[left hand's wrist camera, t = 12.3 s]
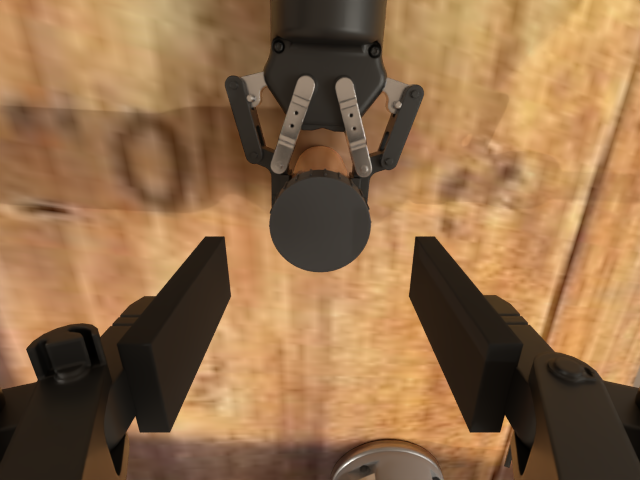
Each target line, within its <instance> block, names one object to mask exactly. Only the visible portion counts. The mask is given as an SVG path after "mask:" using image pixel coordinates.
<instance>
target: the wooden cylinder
mask: <svg viewBox="0 0 640 480" xmlns="http://www.w3.org/2000/svg"><path fill="white" fill-rule="evenodd" d="M324 168H325V169H326V170H329V171H333V172H337V173H338V172H340V174H341V175H343V176H345V177H347V178H348V179H349V176H348V173H347V171H346V168H345V165H344V162H343V160H342V158H341V156H340V155H339V154H338V153H337V152H336V151H335V150H333V149H331V148H329V147H326V146H314V147H311V148H309V149H307V150H306V151H304V152H303V153H302V154H301V155H300V157H299V158H298V160H297V163H296V166H295V168H294V171H293V174H292V177H291V179H292V178H294V177H295V176H296V175H297V174H301V173H304V172H307V171H310V169H312V170H324ZM291 179H290V180H291ZM349 180H350V179H349Z"/></svg>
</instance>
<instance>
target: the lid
mask: <svg viewBox="0 0 640 480" xmlns="http://www.w3.org/2000/svg"><path fill="white" fill-rule="evenodd" d="M363 197H364V196H363V194H362V191H361V189H358V188H357V186H356V185H355V184H354V183H353V182H352V179H350V180H349V179H348V178H347V177H345V176H343V175H341V174H340V172H338V173H337V172H333V171H329V170H326V169H325V168H324V170H312V169H310V171H307V172H304V173H301V174H297V175H296V176H295V177H294V178H292V179H291V180H290V181H289V182H287V181H286V183H285V185H284V187H283V188H282V189H281V191H280V192H278V193H277V195H276V198H275V204H273V206H272V209H271V211H270V214H271V215H270V225H269V227H270V234H271V237H272V241H273V243H274V245H275V247H276V249H277V250H278V252H279V253H280V254H281V255H282V256H283V257H284V258H285V259H286V260H287V261H288V262H290V263H291V264H293V265H294V266H296V267H298V268H301V269H303V270H307V271H312V272H329V271H334V270H337V269H340V268H342V267H344V266H346V265H348V264H349V263H351V262H352V261H353V260H354V259H356V258H357V257H358V256H359V254H360V253H361V252H362V251H363V249H364V247H365V246H366V244H367V241H368V239H369V235H370V229H371V219H370V214H369V206H368V204H367V202H366V201H365V200H364V198H363Z"/></svg>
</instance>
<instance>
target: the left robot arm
mask: <svg viewBox="0 0 640 480" xmlns="http://www.w3.org/2000/svg"><path fill="white" fill-rule="evenodd" d="M230 297H231V292H230V283H229V273H228V264H227V255H226V246H225V237H205V238H204V239H203V240H202V241H201V242H200V244H199V245H198V246H197V247H196V248H195V250H194V251H193V252H192V253H191V255H190V256H189V257H188V258H187V259H186V261H185V262H184V263H183V264H182V265H181V267H180V268H179V269H178V270H177V271H176V273H175V274H174V275H173V276H172V277H171V279H170V280H169V281H168V282H167V284H166V285H165V286H164V287H163V288H162V290H161V291H160V292H159V293H158V294H157V296H144V297H142V298H141V299H139V300H137V301H136V302H134V303H133V304H131V305H129V307H128V308H127V309H126V310H125V311H124V312H123V313H122V314H121V315H120V317H118V319H117V320H116V321H115V322H114V323H113V325H112V326H110V327H109V328H108V329H107V331H106V332H105V333H104V334H103V335H102V336H101V337H100V335H99V332H98V328H96V327H95V326H93V325H90V324H83V323H82V324H72V325H67V326H64V327H60V328H57V329H54V330H52V331H50V332H48V333H45V334H43V335H42V336H40V337H39V338H37V339H36V340H34V341H33V342H32V343H31V344H30V345H29V346H28V348H27V349H26V350H27V353H28V355H29V358H30V360H31V363H32V366H33V368H34V371H35V373H36V376H37V379H38V381H37V382H35V383H30V384H26V385H21V386H16V387H12V388H7V389H2V390H1V387H0V480H126V476H127V466H128V456H129V446H130V444H129V438H128V434H127V429H128V428H129V426H130V424H131V423H132V421H133V419H134V417H135V416H136V420H137V423H138V427H139V431H140V432H170V431H171V429H172V427H173V424H174V422H175V420H176V418H177V416H178V413H179V411H180V409H181V407H182V404H183V402H184V400H185V398H186V395H187V393H188V391H189V389H190V387H191V384H192V382H193V380H194V378H195V375H196V373H197V371H198V369H199V366H200V364H201V362H202V360H203V358H204V355H205V353H206V351H207V349H208V346H209V344H210V342H211V340H212V338H213V335H214V333H215V331H216V329H217V326H218V324H219V322H220V320H221V317H222V315H223V313H224V311H225V309H226V306H227V304H228V302H229V300H230ZM409 297H410V300H411V302H412V304H413V306H414V309H415V311H416V313H417V315H418V317H419V320H420V322H421V324H422V326H423V329H424V331H425V333H426V335H427V338H428V340H429V342H430V344H431V346H432V349H433V351H434V353H435V355H436V358H437V360H438V362H439V364H440V366H441V369H442V371H443V373H444V375H445V378H446V380H447V382H448V384H449V387H450V389H451V391H452V393H453V395H454V398H455V400H456V402H457V404H458V407H459V409H460V411H461V413H462V416H463V418H464V420H465V422H466V424H467V427H468V429H469V431H470V432H500V431H501V427H502V423H503V420H504V416H506V417H507V419H508V421H509V422H510V424H511V426H512V428H513V429H514V431H513V434H512V438H511V441H510V445H509V448H508V452H507V455H506V459H505V465H504V466H505V467H508V468H509V467H510V464H511V460H512V465H513V474H514V480H640V387H639V388H635V387H631V386H626V385H622V384H617V383H612V382H608V381H604V380H602V378H601V377H600V376H599V374H598V373H597V372H596V371H595V370H594V369H593V368H591V367H590V366H589V365H588V364H586V363H585V362H583V361H581V360H579V359H577V358H575V357H572V356H569V355H566V354H563V353H557V352H554V351H553V349H552V348H551V347H550V346H549V345H548V344H547V343H546V342H545V341H544V340H543V339H542V338H541V336H540V335H539V334H538V333H537V332H536V331H535V330H534V329H533V328H532V327H531V326H530V325H528V322H527V321H526V320H525V319H524V318H523V317H522V316H520V314H519V313H518V312H517V311H516V309H515V308H514V307H513V306H512V305H511V304H510V303H508V302H506V301H505V300H503V299H501V298H500V297H498V296H496V295H483V294H482V293H481V292H480V291H479V290H478V288H477V287H476V286H475V285H474V284H473V282H472V281H471V280H470V279H469V277H468V276H467V275H466V274H465V273H464V271H463V270H462V269H461V268H460V267H459V265H458V264H457V263H456V262H455V261H454V259H453V258H452V257H451V256H450V255H449V253H448V252H447V251H446V250H445V248H444V247H443V246H442V245H441V244H440V242H439V241H438V240H437V239H436V238H435V237H415V246H414V255H413V264H412V273H411V283H410V292H409ZM331 480H444V479H443V475H442V472H441V469H440V466H439V464H438V462H437V460H436V459H435V458H434V456H433V455H432V454H431V453H429V452H428V451H427V450H425V449H424V448H422V447H420V446H418V445H415V444H412V443H409V442H404V441H398V440H382V441H375V442H370V443H366V444H363V445H361V446H358V447H356V448H354V449H352V450H351V451H349V452H347V453H346V454H345V455H344V456H342V457H341V458H340V459H339V461H338V462H337V463H336V465H335V466H334V468H333V471H332V474H331Z"/></svg>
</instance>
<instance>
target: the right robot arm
mask: <svg viewBox="0 0 640 480" xmlns="http://www.w3.org/2000/svg"><path fill="white" fill-rule="evenodd" d="M270 5H271V51H270V56H269V59H268V61H267V63H266V65H265V67H264V71H263V72H260V73H256V74H252V75H248V76H244V77H238V76H229V77H228V78H227V79H226V81H225V88H226V91H227V94H228V98H229V101H230V104H231V108H232V111H233V115H234V118H235V121H236V125H237V128H238V132H239V135H240V138H241V142H242V145H243V149H244V152H245V155H246V158H247V160H248V161H249V162H250V163H252V164H259V165H261V166H264V167H266V168H267V169H268V170H269V171H270V173H271V177H272V206H273V204H275V198H276V195H277V193H278V192H280V191H281V189H282V188H283V187H284V185H285V183H286V181H287V182H289V181H290V179H291V177H292V170H289V162H290V159H291V157H292V154H293V151H294V148H295V145H296V142H297V140H298V137H299V134H300V132H301V130H316V129H320V128H326V129H329V130H332V131H338V132H344V133H345V137H346V141H347V144H348V147H349V151H350V155H351V159H352V163H353V169H352V172H349V179H352V182H353V183H354V184H355V185H356V186H357V188H358V189H361V191H362V194H363V196H364V197H363V198H364V200H365V201H366V202H367V200H368V189H369V180H370V177H371V176H372V175H373V174H374V173H376V172H378V171H382V170H385V169H386V170H391V169H393V168H395V167H396V165H397V163H398V160H399V157H400V155H401V152H402V150H403V147H404V145H405V142H406V139H407V137H408V134H409V132H410V129H411V127H412V124H413V122H414V119H415V116H416V114H417V111H418V109H419V106H420V104H421V101H422V99H423V96H424V91H423V88H422V87H421V86H419V85H407V84H404V83H402V82H399V81H396V80H393V79H390V78H387V73H386V70H385V68H384V65H383V61H382V47H383V36H384V26H385V15H386V5H387V0H270ZM265 87H268V88H269V90H270V91H271V93H272V94H273V96H274V97H275V99H276V100H277V102H278V103H279V105H280V106H281V108H282V109H283V111H284V112H285V114H286V118H285V121H284V124H283V127H282V130H281V133H280V136H279V140H278V143H277V146H276V149H275V150H273V149H271V148H268V147H266V145H265V141H264V137H263V134H262V130H261V126H260V123H259V119H258V115H257V111H256V108H255V107H257V106H259V105H260V104H261V102H262V91H263V89H264V88H265ZM381 92H383V93H384V94H385V96H386V109H387V111H388V112H390V113H391V116H390V119H389V122H388V124H387V127H386V130H385V133H384V135H383V138H382V141H381V143H380V146H379V149H378V151H377V152H374V153H371V154H369V152H368V148H367V142H366V137H365V133H364V128H363V124H362V120H361V118H362V116H363V115H364V114H365V113H366V111H367V110H368V109H369V108H370V106H371V105H372V104H373V102H374V101H375V100H376V99H377V97H378V96H379V95H380V94H381Z"/></svg>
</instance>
